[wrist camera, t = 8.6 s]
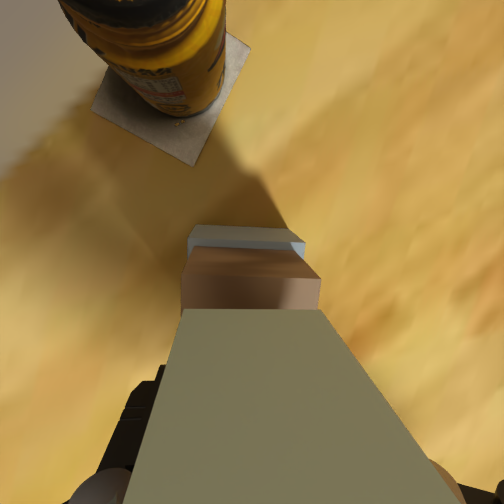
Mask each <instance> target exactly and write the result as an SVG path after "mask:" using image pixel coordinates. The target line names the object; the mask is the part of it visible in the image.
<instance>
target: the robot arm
mask: <svg viewBox="0 0 504 504" xmlns="http://www.w3.org/2000/svg"><path fill="white" fill-rule="evenodd" d="M165 367H166V365H160V367H159V369H158V372H157V375H156V378H155V381H142V382H141V383H140V384H139V385H138V386H137V387H136V388H135V389H134V390H133V391H132V392H131V394H130V396H129V398H128V401H127V403H126V405H125V409H124V410H123V412H122V414H121V417H120V421H118V424H117V426H116V428H115V430H114V433H113V435H112V437H111V440H110V442H109V444H108V446H107V449H106V451H105V453H104V456H103V458H102V460H101V462H100V465H99V467H98V469H97V471H96V473H95V474H94V475H92V476H91V477H89V478H88V479H87V480H85V481H84V482H83V483H82V484H81V485H80V486H79V487H78V488H77V489H76V491H75V492H74V493H73V495H72V497H71V498H70V499H69V500H68V501H66V502H64V503H62V504H123V501H124V498H125V494H126V491H127V488H128V485H129V482H130V479H131V475H132V472H133V469H134V466H135V463H136V459H137V456H138V453H139V450H140V447H141V444H142V440H143V437H144V434H145V431H146V428H147V425H148V421H149V418H150V415H151V412H152V409H153V405H154V402H155V399H156V396H157V393H158V390H159V386H160V383H161V380H162V377H163V374H164V370H165ZM429 460H430V462H431V463H432V464H433V466H434V467H435V469H436V470H437V471H438V473H439V474H440V475H441V477H442V478H443V480H444V481H445V482H446V484H447V485H448V487H449V488H450V489H451V491H452V492H453V493H454V495H455V496H456V498H457V499H458V500H459V502H460V503H461V504H504V480H502V481H500V482H499V484H498V485H497V488H496V491H495V493H491V492H488V491H484V490H480V489H476V488H473V487H469V486H465V485H462V484H459V483H456V481H455V480H454V478H453V477H452V476H451V475H450V474H449V473H448V472H447V471H446V470H445V469H444V468H443V467H441V466H440V465H439V464H437V463H436V462H434V461H432V460H431V459H429Z"/></svg>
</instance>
